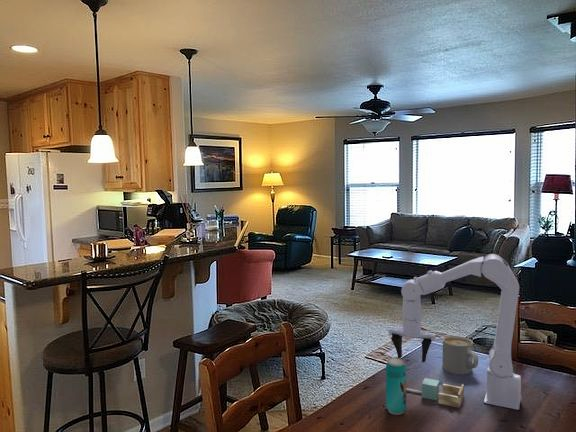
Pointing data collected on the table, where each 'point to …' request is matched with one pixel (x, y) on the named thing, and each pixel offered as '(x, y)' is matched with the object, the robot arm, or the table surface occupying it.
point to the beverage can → (396, 386)
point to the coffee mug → (458, 355)
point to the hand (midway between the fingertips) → (411, 359)
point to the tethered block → (428, 389)
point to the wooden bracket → (451, 395)
